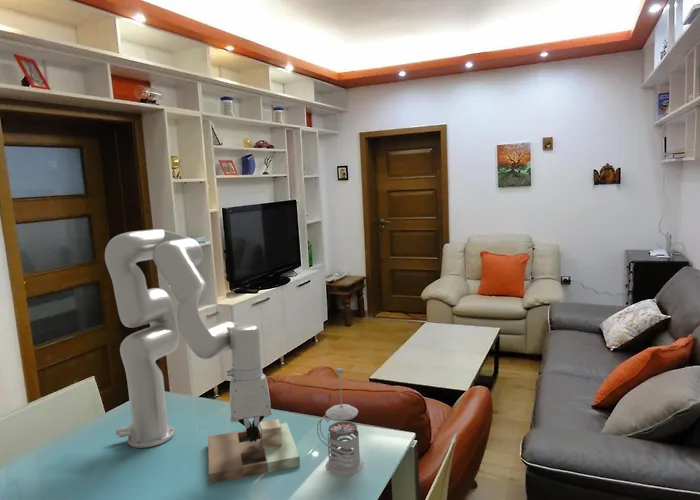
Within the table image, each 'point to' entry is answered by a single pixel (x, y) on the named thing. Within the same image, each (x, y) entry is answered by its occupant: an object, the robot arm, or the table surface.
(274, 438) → the maple block
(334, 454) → the french press
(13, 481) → the table surface
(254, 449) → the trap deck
